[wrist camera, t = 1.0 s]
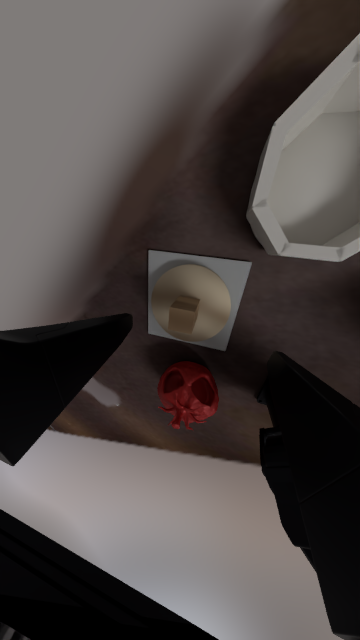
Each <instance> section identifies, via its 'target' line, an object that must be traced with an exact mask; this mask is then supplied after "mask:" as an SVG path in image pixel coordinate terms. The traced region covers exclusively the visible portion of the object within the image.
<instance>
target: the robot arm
mask: <svg viewBox="0 0 360 640" xmlns="http://www.w3.org/2000/svg"><path fill="white" fill-rule="evenodd" d="M132 326H133V317H132V315H131V314H128V313H124V314H118V315H111V316H105V317H99V318H92V319H86V320H80V321H74V322H70V323H69V322H67V323H61V324H54V325H47V326H39V327H32V328H23V329H15V330H7V331H0V460H2V461H3V462H5V463H7V464H9V465H11V466H14V465H15V464H16V463H17V462H18V461H19V460H20V459H21V458H22V457H23V456H24V454H25V453H26V452H27V451H28V450H29V449H30V448H31V446H32V445H33V444H34V443H35V442H36V441H37V439H38V438H39V437H40V436H41V435H42V434H43V433H44V432H45V430H46V429H47V428H48V427H49V426H50V425H51V424H52V423H53V421H54V420H55V419H56V418H57V417H58V416H59V415H60V413H61V412H62V411H63V410H64V408H66V406H67V405H68V404H69V403H70V402H71V401H72V400H73V398H74V397H75V396H76V395H77V394H78V393H79V392H80V390H81V389H82V388H83V387H84V386H85V385H86V384H87V382H88V381H89V380H90V379H91V378H92V377H93V376H94V374H95V373H96V372H97V371H98V370H99V369H100V368H101V366H102V365H103V364H104V363H105V362H106V361H107V360H108V358H109V357H110V356H111V355H112V354H113V353H114V352H115V350H116V349H117V348H118V347H119V346H120V345H121V343H122V342H123V340H124V339H125V338H126V336H127V335H128V333H129V332H130V330H131V329H132ZM267 368H268V377H267V379H266V381H265V383H264V385H263V387H262V389H261V391H260V393H259V395H258V396H257V402H258V403H261V404H265V405H267V407H268V410H269V414H270V417H271V421H272V424H273V427H272V428H266V429H264V428H261V429H260V435H259V437H260V460H261V466H262V473H263V475H264V476H265V477H266V480H267V482H268V484H269V487H270V488H271V490H272V492H273V493H274V495H275V499H276V503H277V507H278V511H279V515H280V520H281V523H282V526H283V528H284V530H285V531H286V533H287V535H288V537H289V538H290V540H291V542H292V544H293V545H294V546H296V547H300V548H301V550H302V551H303V553H304V554H305V556H306V557H307V559H308V561H309V562H310V564H311V565H312V567H313V568H314V569H315V571H316V573H317V576H318V580H319V584H320V588H321V592H322V596H323V600H324V604H325V608H326V612H327V616H328V619H329V623H330V626H331V629H332V632H333V634H335V635H337V636H338V637H340V638H342V639H344V640H360V407H358V406H357V405H355V404H353V403H352V402H351V401H350V400H348V399H347V398H346V397H344V396H343V395H341V394H340V393H339V392H337V391H336V390H334V389H333V388H331V387H330V386H329V385H327V384H326V383H324V382H323V381H322V380H320V379H319V378H317V377H316V376H315V375H313V374H312V373H310V372H309V371H308V370H306V369H305V368H303V367H302V366H301V365H299V364H298V363H296V362H295V361H293V360H292V359H291V358H289V357H288V356H286V355H285V354H284V353H282V352H278V351H274V352H273V353H272V355H271V357H270V359H269V361H268V363H267ZM0 640H218V639H217V638H215V637H214V636H212V635H210V634H209V633H207V632H205V631H204V630H202V629H201V628H199V627H197V626H196V625H194V624H192V623H191V622H189V621H187V620H186V619H184V618H182V617H181V616H179V615H177V614H176V613H174V612H172V611H170V610H169V609H167V608H166V607H164V606H162V605H161V604H159V603H157V602H156V601H154V600H152V599H150V598H149V597H147V596H145V595H144V594H142V593H140V592H139V591H137V590H135V589H133V588H132V587H130V586H128V585H127V584H125V583H123V582H122V581H120V580H119V579H117V578H115V577H114V576H112V575H110V574H108V573H107V572H105V571H103V570H102V569H100V568H98V567H97V566H95V565H93V564H92V563H90V562H88V561H87V560H85V559H83V558H82V557H80V556H78V555H77V554H75V553H73V552H72V551H70V550H68V549H67V548H65V547H63V546H61V545H60V544H58V543H56V542H55V541H53V540H51V539H50V538H48V537H46V536H45V535H43V534H41V533H40V532H38V531H36V530H35V529H33V528H31V527H30V526H28V525H26V524H25V523H23V522H21V521H19V520H18V519H16V518H15V517H13V516H11V515H9V514H8V513H6V512H4V511H3V510H1V509H0Z"/></svg>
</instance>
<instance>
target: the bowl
mask: <svg viewBox="0 0 360 640" xmlns="http://www.w3.org/2000/svg"><path fill="white" fill-rule="evenodd" d="M246 218H247V220H248V221H249V223H250V225H251V228H252V231H253V233H254V235H255V237H256V239H257V240H258V242H259V243H260V244H261V245H262V246H263V247H264V249H265V251H266V252H267V254H269V255H277V256H286V257H295V258H305V259H314V260H324V261H335V262H339V261H343V260H345V259H346V258H348V257H350V256H352V255H354V254H356V253H358V252H359V251H360V34H359V35H358V36H357V37H356V38H355V39H354V40H353V41H352V42H351V43H350V44H349V45H348V46H347V47H346V48H345V49H344V50H343V51H342V52H341V53H340V54H339V56H338V57H337V58H336V59H335V60H334V61H333V62H332V63H331V64H330V65H329V66H328V67H327V68H326V69H325V70H324V71H323V72H322V73H321V74H320V75H319V77H318V78H317V79H316V80H315V81H314V82H313V83H312V84H311V85H310V86H309V87H308V88H307V89H306V90H305V91H304V92H303V93H302V94H301V95H300V96H299V97H298V99H297V100H296V101H295V102H294V103H293V104H292V105H291V106H290V107H289V108H288V109H287V110H286V111H285V112H284V113H283V114H282V115H281V116H280V117H279V118H278V119H277V121H276V122H275V123H274V125H273V127H272V129H271V132H270V134H269V137H268V139H267V141H266V144H265V146H264V149H263V151H262V154H261V157H260V161H259V165H258V169H257V173H256V177H255V180H254V183H253V186H252V190H251V194H250V199H249V205H248V209H247V213H246Z"/></svg>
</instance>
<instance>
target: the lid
mask: <svg viewBox="0 0 360 640" xmlns="http://www.w3.org/2000/svg"><path fill="white" fill-rule="evenodd" d="M151 306H152V311H153V314H154V316H155V319H156V320H157V322H158V324H159V325H160V326H161V327H162V328H163V329H164V330H165V331H166V332H167V333H168V334H170V335H171V336H173V337H175V338H177V339H180V340H183V341H188V342H198V341H203V340H207V339H209V338H211V337H213V336H215V335H216V334H217V333H219V332H220V331H221V330H222V329H223V327H224V326H225V325H226V323H227V321H228V318H229V316H230V311H231V300H230V295H229V291H228V289H227V286H226V285H225V283H224V281H223V280H222V279H221V277H220V276H219V275H217V274H216V273H215V272H214V271H212V270H211V269H209V268H207V267H204V266H201V265H196V264H185V265H180V266H177V267H175V268H172V269H170V270H168V271H167V272H165V273H164V274H163V275H162V276H161V277H160V278H159V279H158V281H157V282H156V284H155V286H154V289H153V291H152V297H151Z"/></svg>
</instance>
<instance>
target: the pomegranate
mask: <svg viewBox="0 0 360 640" xmlns="http://www.w3.org/2000/svg"><path fill="white" fill-rule="evenodd" d="M157 389H158V395H159V397H160V400H161V402H162V403H163V405H164V406H165V408H166V409H165V408H163V407H159V408H161V409H162V410H163V411H164V412H167V413H169V412H170V413H171V414H172V415H174V418H173V420H172V421H171V422H170V423H169V424H171V423H172V427H173V428H176V429H179V427H180V421H181V420H182V421H184V422H185V426H186V428H187V429H192V428H190V427H188V426H189V423H192V422H194V421H195V422H196V423H202V422H206V421H200V420H204V419H206V418H208V417H210V416H212V415H214V413H215V412H216V411H217V408H218V402H219V397H218V389H217V386H216V383H215V380H214V378H213V376H212V374H211V372H210V371H209V370H208V369H207V368H206V367H204V366H203V365H201V364H198V363H194V362H189V361H181V362H178V363H175V364H173V365H171V366H170V367H168V368H167V369H166V371H165V372H164V373H163V375H162V376H161V378H160V381H159V384H158V388H157ZM169 424H168V425H169ZM192 430H193V429H192Z"/></svg>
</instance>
